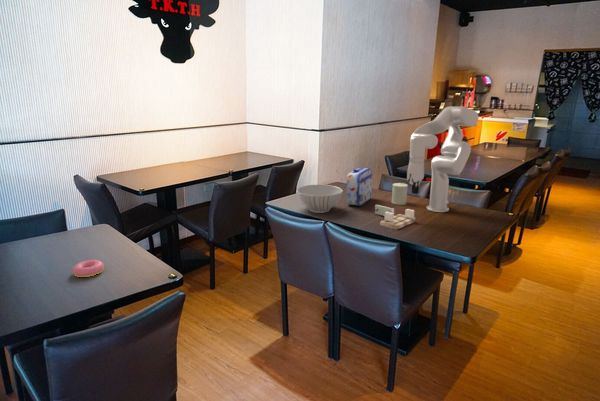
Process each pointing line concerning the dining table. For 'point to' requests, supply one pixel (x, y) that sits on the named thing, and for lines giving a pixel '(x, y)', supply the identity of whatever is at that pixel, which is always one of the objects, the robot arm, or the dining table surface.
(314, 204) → the decorative bowl
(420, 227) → the dining table surface
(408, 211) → the fader
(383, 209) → the rack door
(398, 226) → the console board
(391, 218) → the fader
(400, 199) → the can
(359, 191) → the lunch box
